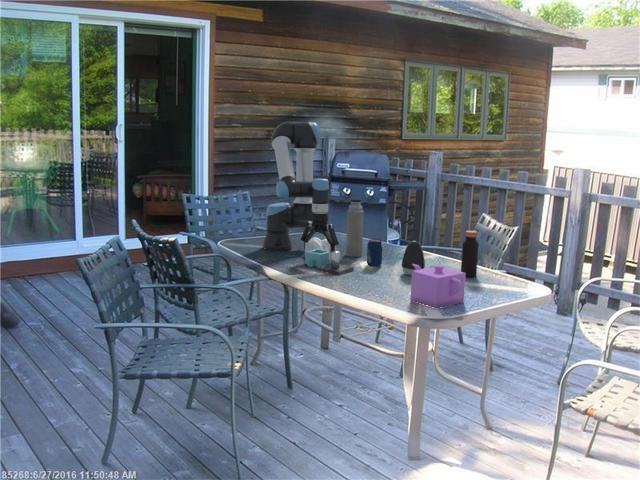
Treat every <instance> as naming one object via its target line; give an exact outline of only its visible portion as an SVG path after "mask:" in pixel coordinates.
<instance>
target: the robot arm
mask: <svg viewBox="0 0 640 480" xmlns="http://www.w3.org/2000/svg"><path fill="white" fill-rule="evenodd" d="M319 129H320V128H319V126H318V124H317V123H316V122H313V121H284V122H282V123H280V124H279V125H277V127H275V129H274V130H273V132H272V134H271V141H270V142H271V147H272V148H273V150H274V153H275V161H276V166H277V173H278V178H279V181H277V182H276V187H275V188H276V189H275V190H276V196H277V197H278V198H284V199H285V198H295V199H294V200H293V201H292V205H290V203H289V202H276V203H270V204H268V206H267V207H266V214H265V216H266V228H265V229H266V232H265V237H264V240H263V242H262V249H263V248H266V249H270V250H269V251H271V250H279V251H278V252H281V251H282V252H285V251H290V250H292V249H293V243H292V240H291V236H290V229H301V228H302V229H304V230H303V233H302V235H301V237H300V241H302V242H303V249H304V251H305V252H306V251H310V242H309V240H310V239H312V238H313V237H314V235H315V234H316V233H319V234H322V235H323V236H324V237H325V239H327V241H328V242H329V244H330V246H329V249H328V251H329V260H331V251H336V246H338V245H339V243H340V242H339V240H338V238H337V235H336V232H335V227H334V224H333V223H331V224H328V221H329V213H328V212H329V191H330V190H329V188H330V183H329V180H328V178H314V152H315V151H316V150H317V146H319V145H320V144H321V136H320V130H319ZM291 146H293V150H294V151H295V152H296V160H295V162H296V172H295V170H294V169H295V168H294V164H293V163H294V162H293V158H292V152H291ZM295 174H296V175H295ZM266 249H265V250H266ZM284 250H285V251H284ZM305 252H304V253H305Z"/></svg>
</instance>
